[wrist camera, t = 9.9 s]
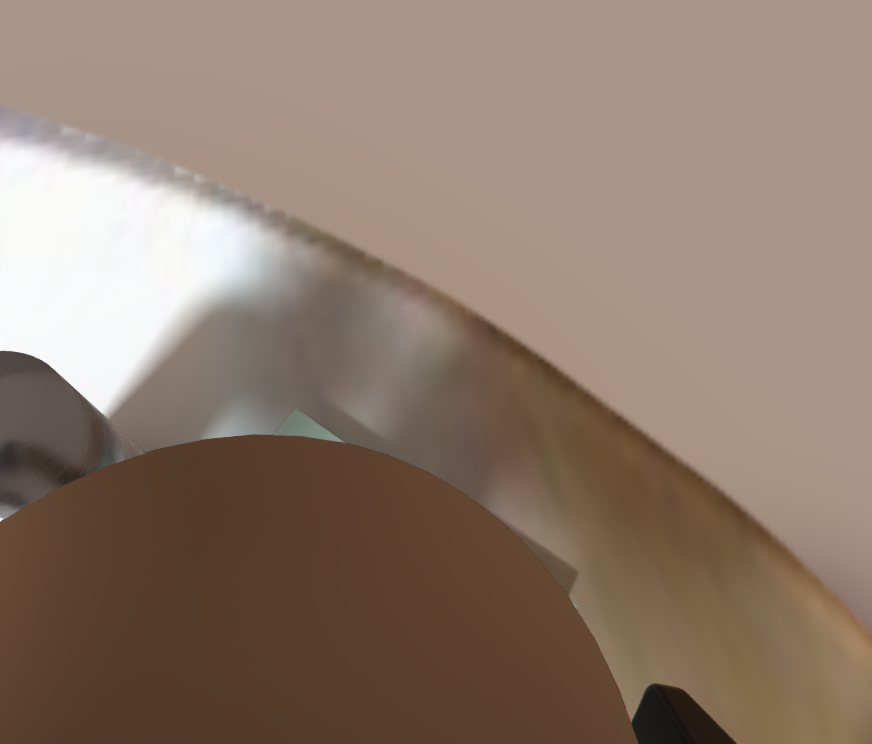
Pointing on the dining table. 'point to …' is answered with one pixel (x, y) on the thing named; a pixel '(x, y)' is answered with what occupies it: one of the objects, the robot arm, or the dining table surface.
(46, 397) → the post near pad
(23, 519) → the walnut dowel
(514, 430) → the dining table surface
